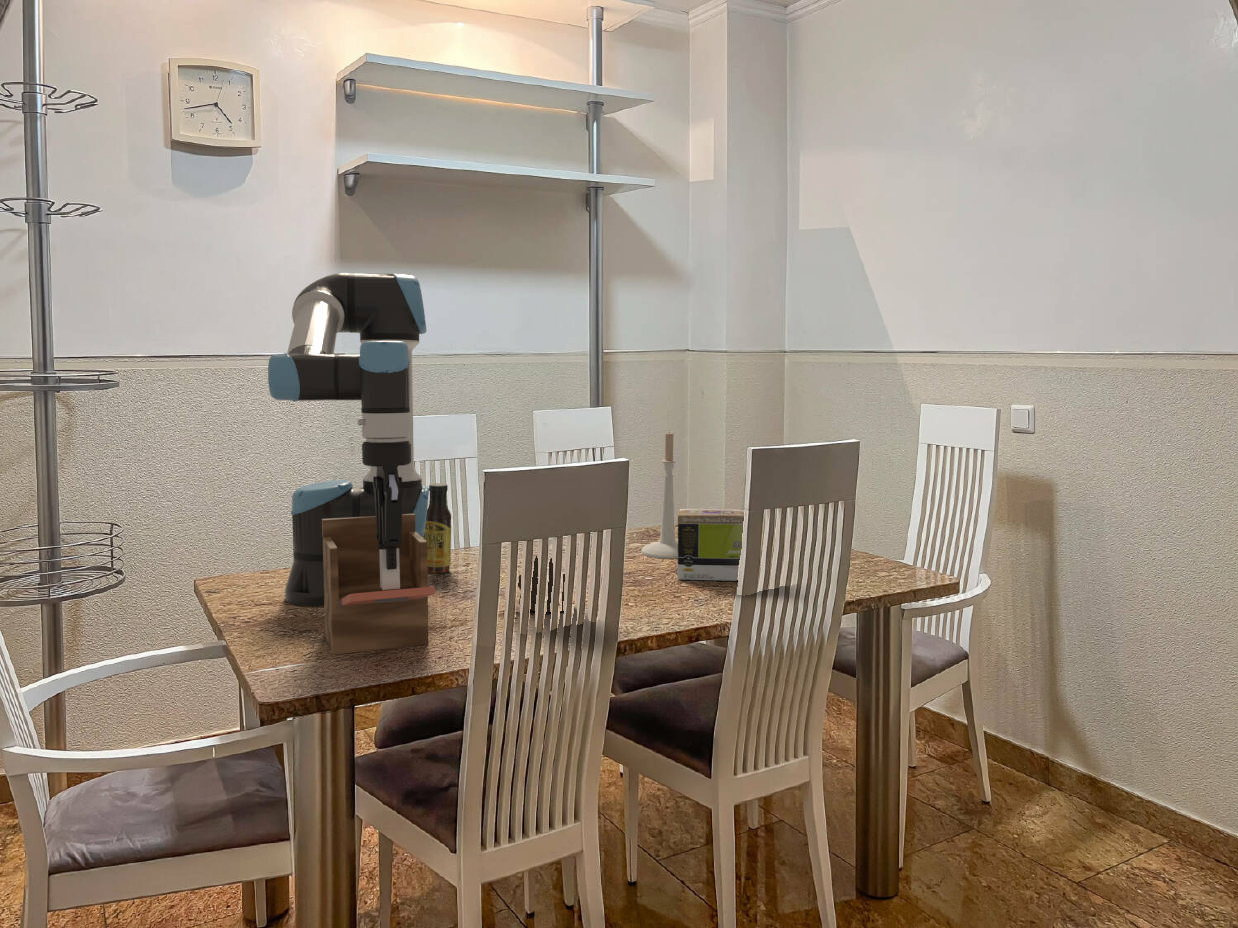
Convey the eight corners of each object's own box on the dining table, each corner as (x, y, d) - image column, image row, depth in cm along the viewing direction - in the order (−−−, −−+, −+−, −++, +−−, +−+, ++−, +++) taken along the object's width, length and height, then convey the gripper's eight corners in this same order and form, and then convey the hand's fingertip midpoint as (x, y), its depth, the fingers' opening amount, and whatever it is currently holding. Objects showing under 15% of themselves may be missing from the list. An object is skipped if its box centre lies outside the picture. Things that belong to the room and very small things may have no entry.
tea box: (744, 572, 230) (746, 507, 228) (745, 582, 220) (747, 515, 218) (678, 569, 232) (679, 506, 230) (676, 580, 222) (677, 514, 220)
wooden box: (325, 636, 179) (321, 519, 176) (415, 626, 185) (413, 513, 182) (332, 654, 169) (329, 530, 166) (428, 644, 175) (426, 524, 172)
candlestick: (704, 553, 249) (706, 431, 245) (668, 561, 240) (670, 435, 236) (666, 545, 258) (668, 427, 254) (630, 552, 249) (632, 431, 245)
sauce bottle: (417, 573, 226) (415, 485, 223) (431, 567, 231) (430, 481, 229) (443, 575, 223) (442, 486, 221) (457, 569, 229) (456, 483, 227)
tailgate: (338, 598, 168) (348, 593, 156) (420, 591, 173) (436, 586, 161) (339, 609, 168) (349, 604, 156) (421, 601, 173) (436, 596, 161)
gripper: (355, 437, 164) (359, 581, 166) (369, 443, 151) (373, 598, 153) (402, 436, 167) (405, 577, 169) (419, 442, 154) (422, 594, 156)
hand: (390, 587), depth 161 cm, fingers closed
